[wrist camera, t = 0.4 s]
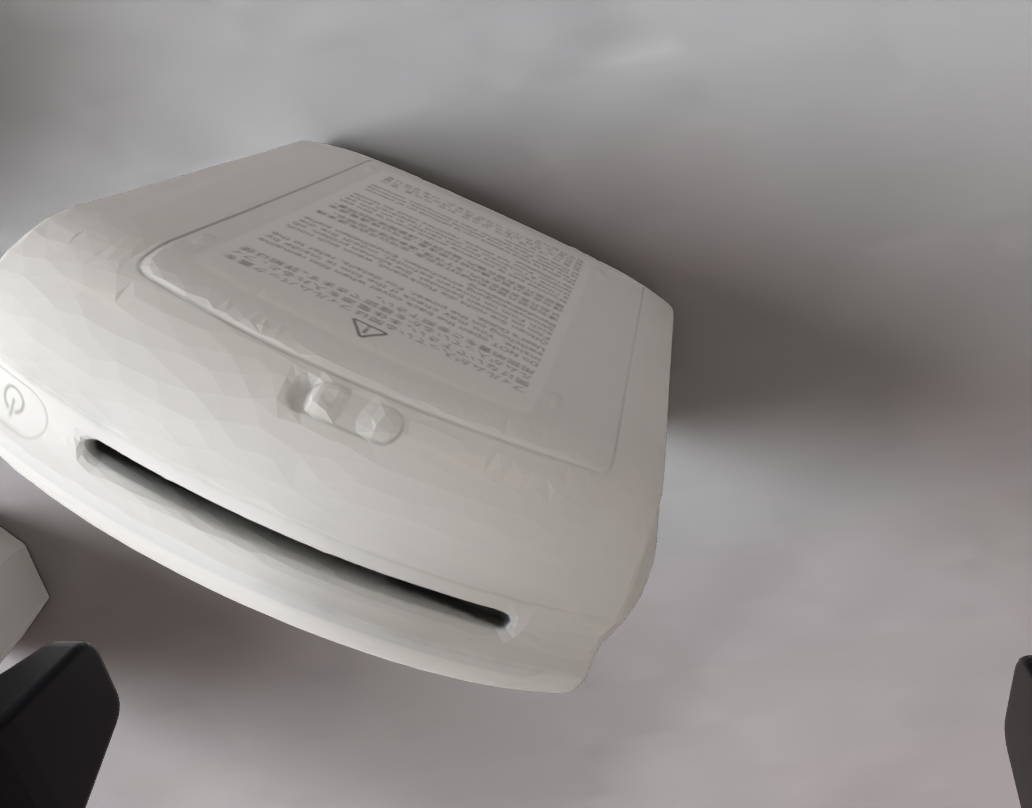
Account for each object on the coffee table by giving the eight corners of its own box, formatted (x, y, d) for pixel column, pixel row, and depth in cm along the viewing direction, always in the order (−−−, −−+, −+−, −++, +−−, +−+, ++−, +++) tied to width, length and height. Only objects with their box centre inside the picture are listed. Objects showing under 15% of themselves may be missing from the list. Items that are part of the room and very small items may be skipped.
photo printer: (245, 276, 24) (-158, 509, 12) (294, 110, 22) (-122, 202, 10) (623, 445, 24) (573, 834, 12) (702, 293, 22) (728, 582, 11)
